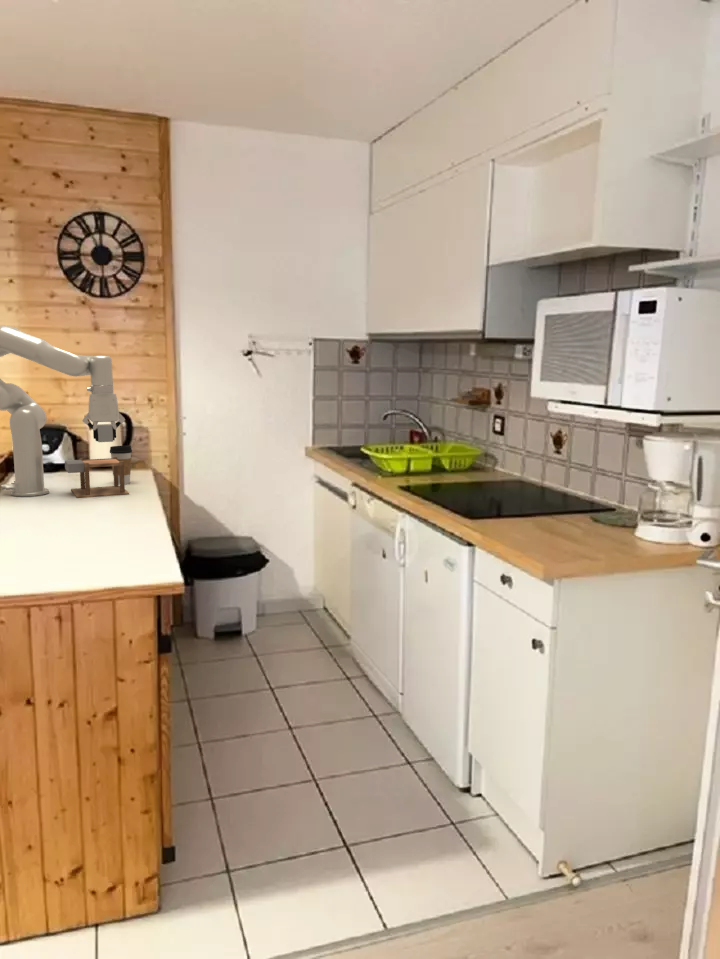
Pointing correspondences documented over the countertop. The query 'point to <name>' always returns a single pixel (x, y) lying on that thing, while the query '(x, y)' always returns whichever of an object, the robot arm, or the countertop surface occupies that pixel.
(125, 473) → the coffee cup
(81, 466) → the trapdoor
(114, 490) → the frame
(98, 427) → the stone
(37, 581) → the countertop surface
